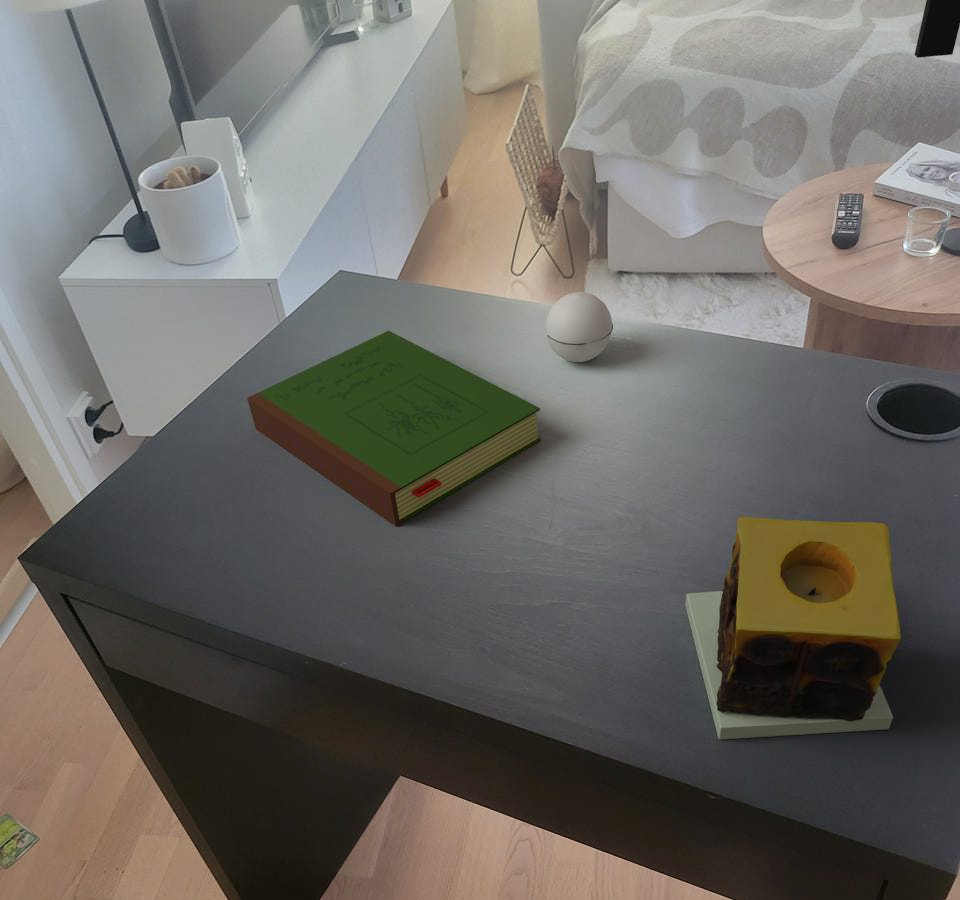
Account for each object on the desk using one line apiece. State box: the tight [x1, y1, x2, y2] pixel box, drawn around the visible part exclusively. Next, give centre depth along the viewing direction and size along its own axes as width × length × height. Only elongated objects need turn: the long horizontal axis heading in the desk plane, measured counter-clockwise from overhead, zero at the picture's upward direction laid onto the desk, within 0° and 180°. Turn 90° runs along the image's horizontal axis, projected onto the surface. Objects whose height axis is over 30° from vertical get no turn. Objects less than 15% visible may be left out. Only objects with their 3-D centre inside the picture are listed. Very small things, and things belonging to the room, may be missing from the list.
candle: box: [716, 516, 902, 722], centre depth 65 cm, size 10×10×10 cm
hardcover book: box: [246, 330, 542, 527], centre depth 97 cm, size 25×19×4 cm
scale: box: [684, 590, 894, 740], centre depth 72 cm, size 13×15×3 cm
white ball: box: [544, 291, 632, 363], centre depth 103 cm, size 10×7×7 cm
